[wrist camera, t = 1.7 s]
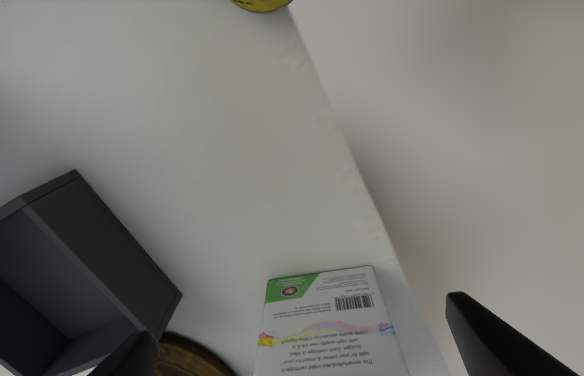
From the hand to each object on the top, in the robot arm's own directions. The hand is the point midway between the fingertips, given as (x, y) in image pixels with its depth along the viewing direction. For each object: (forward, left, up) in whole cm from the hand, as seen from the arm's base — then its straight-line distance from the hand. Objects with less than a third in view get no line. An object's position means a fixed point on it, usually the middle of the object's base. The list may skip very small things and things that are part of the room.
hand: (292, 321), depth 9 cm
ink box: (-10, +3, -13) cm, 17 cm away
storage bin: (+1, +20, -13) cm, 24 cm away
